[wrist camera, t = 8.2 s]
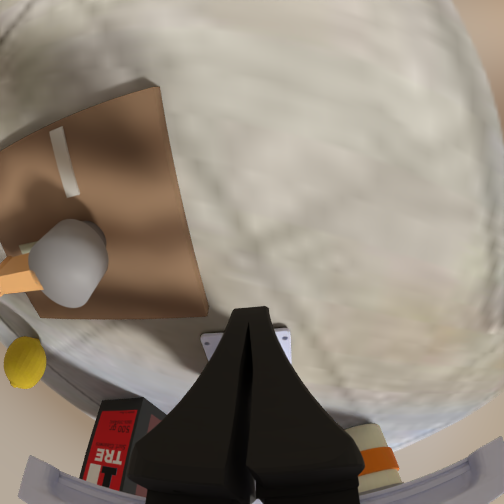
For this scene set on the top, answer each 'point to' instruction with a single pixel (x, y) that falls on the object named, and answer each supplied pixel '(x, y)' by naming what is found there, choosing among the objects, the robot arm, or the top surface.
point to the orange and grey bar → (59, 265)
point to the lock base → (107, 207)
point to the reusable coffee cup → (375, 459)
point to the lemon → (25, 362)
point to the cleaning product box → (118, 442)
